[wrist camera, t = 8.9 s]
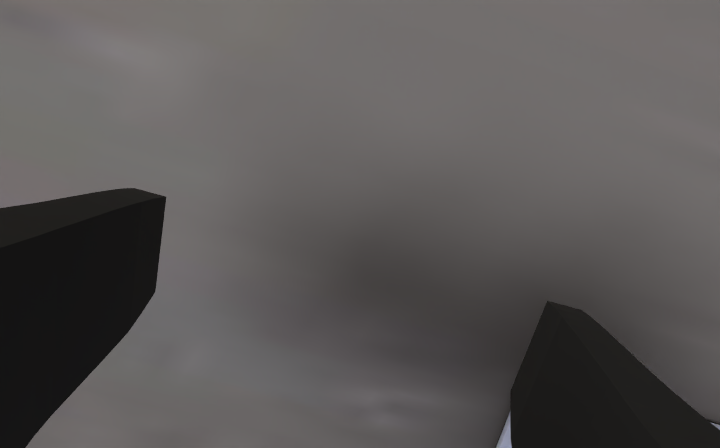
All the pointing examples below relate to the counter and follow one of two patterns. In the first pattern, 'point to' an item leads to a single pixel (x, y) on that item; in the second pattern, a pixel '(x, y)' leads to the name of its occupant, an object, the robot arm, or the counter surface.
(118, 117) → the counter surface
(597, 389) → the robot arm
